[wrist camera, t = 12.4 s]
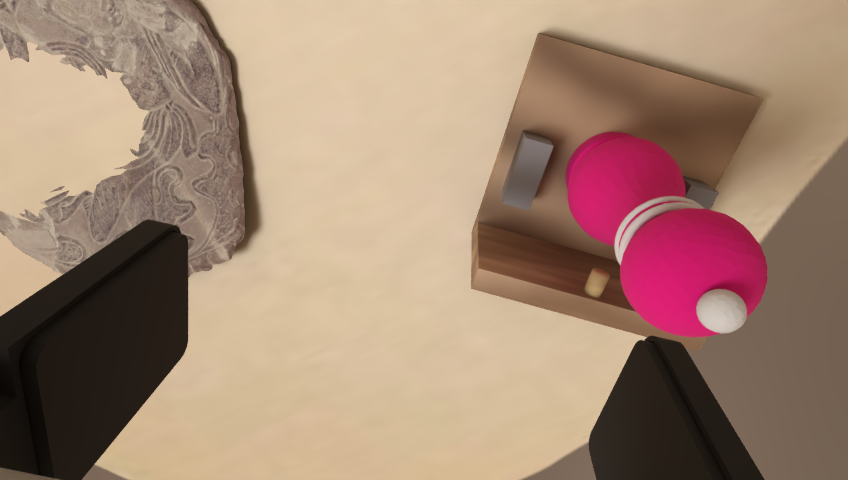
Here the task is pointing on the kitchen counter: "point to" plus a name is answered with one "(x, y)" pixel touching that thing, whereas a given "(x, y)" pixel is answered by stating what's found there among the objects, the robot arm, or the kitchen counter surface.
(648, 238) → the pepper mill
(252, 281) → the kitchen counter surface
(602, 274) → the pegged stand
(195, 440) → the kitchen counter surface
